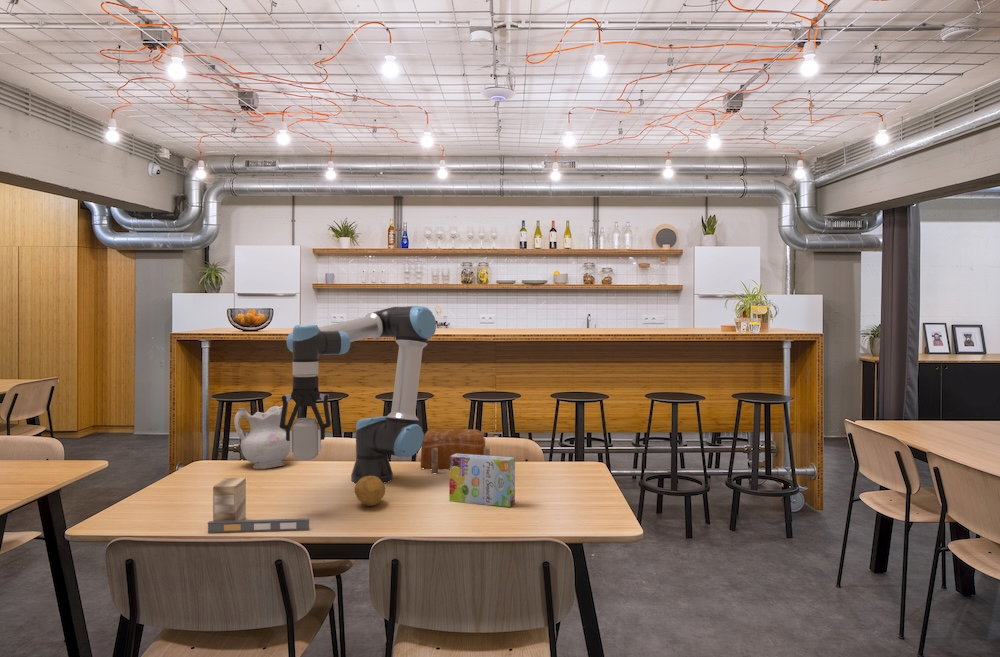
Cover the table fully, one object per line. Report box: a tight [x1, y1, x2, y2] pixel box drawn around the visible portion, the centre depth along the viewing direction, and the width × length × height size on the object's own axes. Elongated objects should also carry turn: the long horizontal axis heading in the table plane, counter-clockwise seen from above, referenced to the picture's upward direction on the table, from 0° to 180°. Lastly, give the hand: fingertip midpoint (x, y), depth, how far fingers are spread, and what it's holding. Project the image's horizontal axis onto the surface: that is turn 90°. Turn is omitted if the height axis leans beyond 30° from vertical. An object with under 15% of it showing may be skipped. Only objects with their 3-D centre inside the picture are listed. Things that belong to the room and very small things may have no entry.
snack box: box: [448, 454, 516, 508], centre depth 206 cm, size 21×6×15 cm, turn 71°
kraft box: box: [212, 477, 247, 521], centre depth 183 cm, size 6×10×12 cm, turn 6°
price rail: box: [207, 517, 310, 534], centre depth 177 cm, size 27×2×3 cm, turn 96°
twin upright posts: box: [431, 437, 491, 474], centre depth 255 cm, size 22×22×10 cm
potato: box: [354, 476, 387, 507], centre depth 202 cm, size 10×13×9 cm
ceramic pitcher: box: [233, 404, 291, 470], centre depth 255 cm, size 22×20×25 cm
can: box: [292, 417, 319, 461], centre depth 193 cm, size 8×8×12 cm
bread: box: [420, 428, 486, 469], centre depth 256 cm, size 14×26×16 cm, turn 92°
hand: (305, 450), depth 193 cm, fingers closed on can, 7 cm apart
